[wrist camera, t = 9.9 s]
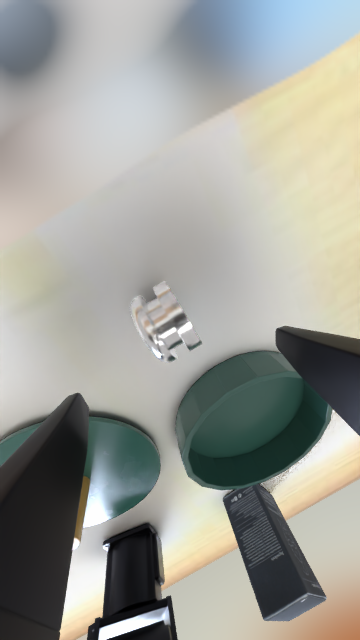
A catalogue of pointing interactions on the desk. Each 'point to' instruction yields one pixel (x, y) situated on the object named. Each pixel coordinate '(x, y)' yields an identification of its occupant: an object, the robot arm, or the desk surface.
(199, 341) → the grooved metal pulley
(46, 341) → the desk surface
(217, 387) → the tin
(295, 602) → the box
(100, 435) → the tin lid
